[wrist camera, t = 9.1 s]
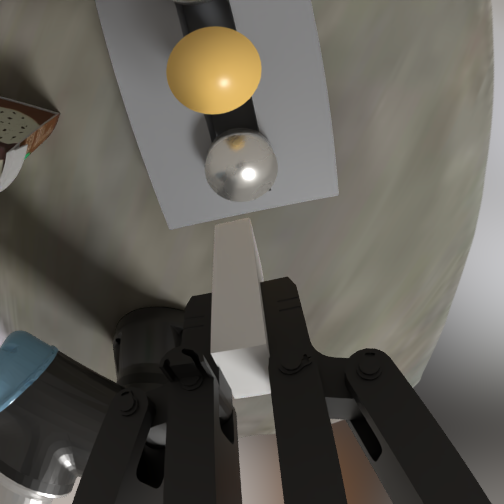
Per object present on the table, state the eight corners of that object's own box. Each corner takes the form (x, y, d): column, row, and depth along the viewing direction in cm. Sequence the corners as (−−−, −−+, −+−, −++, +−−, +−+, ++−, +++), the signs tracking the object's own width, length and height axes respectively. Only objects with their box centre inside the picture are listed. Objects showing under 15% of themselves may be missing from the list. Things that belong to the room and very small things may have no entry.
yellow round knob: (192, 105, 20) (179, 124, 16) (175, 42, 18) (156, 41, 13) (260, 89, 20) (269, 103, 15) (246, 26, 17) (250, 17, 12)
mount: (173, 200, 30) (163, 231, 26) (105, -24, 16) (78, -35, 12) (327, 168, 29) (345, 193, 24) (282, -68, 15) (294, -91, 11)
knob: (218, 175, 27) (215, 208, 22) (203, 123, 24) (196, 144, 19) (273, 164, 27) (283, 194, 22) (262, 110, 24) (270, 128, 19)
